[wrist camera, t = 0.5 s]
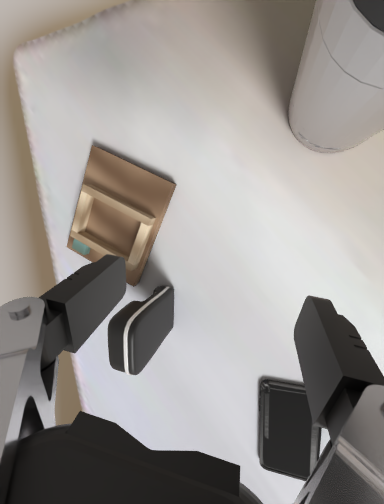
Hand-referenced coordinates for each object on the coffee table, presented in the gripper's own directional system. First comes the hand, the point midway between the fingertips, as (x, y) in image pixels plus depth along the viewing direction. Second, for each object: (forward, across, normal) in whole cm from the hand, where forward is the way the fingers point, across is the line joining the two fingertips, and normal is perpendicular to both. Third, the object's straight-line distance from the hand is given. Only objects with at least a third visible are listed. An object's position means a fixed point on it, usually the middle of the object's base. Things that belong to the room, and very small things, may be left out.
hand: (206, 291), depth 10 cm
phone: (+13, -13, +30) cm, 35 cm away
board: (+21, +16, +5) cm, 27 cm away
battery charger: (+18, +8, +17) cm, 26 cm away
